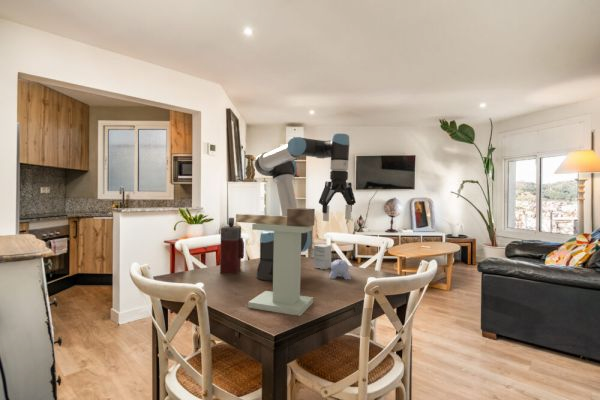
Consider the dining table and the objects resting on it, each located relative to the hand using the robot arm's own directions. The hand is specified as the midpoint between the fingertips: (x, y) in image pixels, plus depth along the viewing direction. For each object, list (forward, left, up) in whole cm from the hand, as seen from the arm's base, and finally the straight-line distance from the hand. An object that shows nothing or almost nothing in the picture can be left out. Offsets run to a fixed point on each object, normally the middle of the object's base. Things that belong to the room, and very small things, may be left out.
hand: (337, 220), depth 135 cm
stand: (-7, -29, -30) cm, 42 cm away
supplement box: (-25, +31, -30) cm, 50 cm away
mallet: (-11, -30, 0) cm, 32 cm away
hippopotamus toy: (-9, +21, -31) cm, 38 cm away
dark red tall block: (-57, -6, -30) cm, 65 cm away
